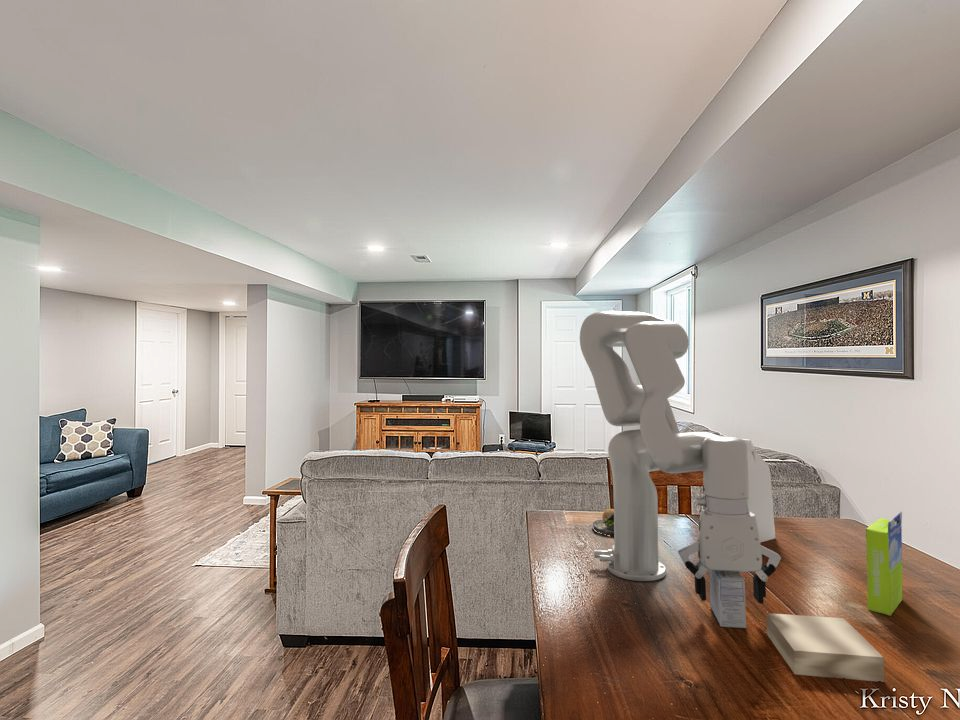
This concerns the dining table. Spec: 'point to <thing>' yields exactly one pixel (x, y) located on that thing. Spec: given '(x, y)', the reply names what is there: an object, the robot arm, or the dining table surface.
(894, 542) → the box
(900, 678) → the dining table surface
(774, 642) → the maple block
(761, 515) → the milk
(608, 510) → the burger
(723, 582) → the medicine box
